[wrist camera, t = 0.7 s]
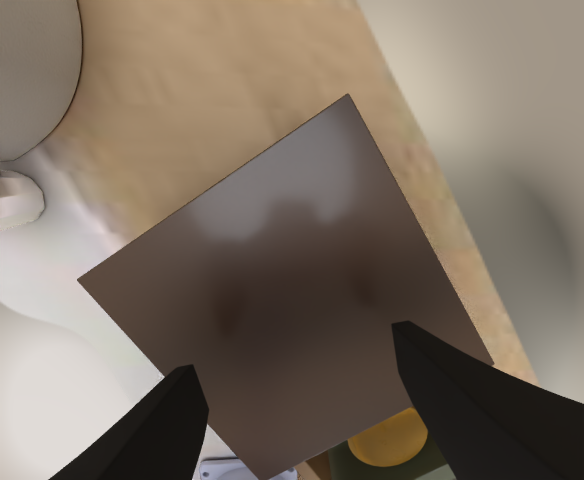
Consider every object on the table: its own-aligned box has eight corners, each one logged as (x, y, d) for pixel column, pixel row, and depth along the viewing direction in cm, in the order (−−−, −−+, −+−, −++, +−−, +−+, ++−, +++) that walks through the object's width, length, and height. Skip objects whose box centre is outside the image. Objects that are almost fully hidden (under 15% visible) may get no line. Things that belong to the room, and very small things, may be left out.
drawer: (484, 415, 22) (551, 500, 16) (353, 479, 23) (373, 577, 18) (379, 235, 18) (419, 266, 12) (230, 325, 19) (207, 388, 14)
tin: (398, 407, 20) (425, 464, 16) (335, 410, 20) (347, 469, 16) (401, 353, 19) (430, 400, 15) (335, 356, 19) (347, 405, 15)
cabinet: (420, 293, 20) (495, 364, 13) (270, 378, 22) (261, 483, 14) (322, 123, 17) (348, 92, 10) (157, 236, 19) (75, 280, 11)
